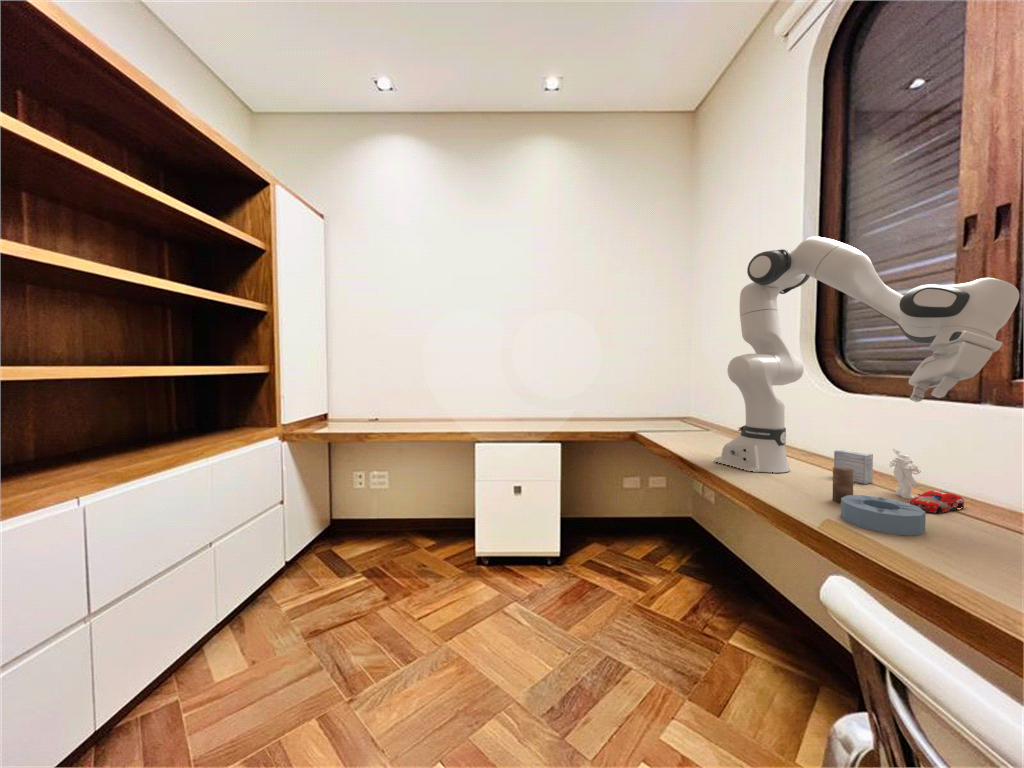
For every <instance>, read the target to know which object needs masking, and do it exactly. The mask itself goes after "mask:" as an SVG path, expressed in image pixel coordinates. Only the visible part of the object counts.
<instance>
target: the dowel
mask: <svg viewBox="0 0 1024 768" xmlns="http://www.w3.org/2000/svg"><path fill="white" fill-rule="evenodd" d="M853 472H854V470H853V469H851V468H846V467H834V466H833V467H832V498H831V500H832V502H834V503H837V504H840V505H841V498H842V497H845V496H847V495H854V482H853Z"/></svg>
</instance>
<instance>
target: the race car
mask: <svg viewBox="0 0 1024 768" xmlns="http://www.w3.org/2000/svg"><path fill="white" fill-rule="evenodd" d="M908 504H911V505H914V506H917V507H919V508H921V509H922V510H923V511H925V512H926V513H927V512H928V513H933V514H935V515H938V514H939V515H940V514H942V513H946V512H952V511H955V510H956V509H957V508H961V507H963V508H964V507H965V501H964V498H963V497H962V496H960V495H958V494H955V493H951V492H947V491H946V492H945V491H941V490H928V491H926V492H923V493H922V494H920V493H918V494H917V497H915V498H914V499H910V500H909V503H908Z"/></svg>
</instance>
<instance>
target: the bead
mask: <svg viewBox="0 0 1024 768" xmlns="http://www.w3.org/2000/svg"><path fill="white" fill-rule="evenodd" d="M926 513H927V511H923V510H922V509H921V508H919V507H917V506H914V505H911V504H909V503H908V502H905V501H902V500H897V499H891V498H887V497H881V496H875V495H863V494H853V495H847V496H845V497H842V498H841V504H840V516H841V517H842V519H843V520H844V521H845V522H848V523H850V524H853V525H854V526H856V527H859V528H862V529H866V530H869V531H874V532H878V533H883V534H884V533H885V534H890V535H896V536H897V535H899V536H920V535H922V534H923V533H925V532H926V521H927V520H926V517H927V516H926Z"/></svg>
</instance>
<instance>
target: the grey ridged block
mask: <svg viewBox="0 0 1024 768" xmlns="http://www.w3.org/2000/svg"><path fill="white" fill-rule="evenodd" d="M833 454H834V455H833V457H834V459H833V464H834V465H833V467H846V468H851V469H853V470H854V472H853V483H858V484H861V485H862V484H863V485H868V484H870V483H873V482H874V479H873V477H874V474H873V473H874V471H873V470H874V469H873V468H874V463H873V461H874V456H873V455H874V454H873V453H871V452H864V451H858V450H851V449H842V448H840V449H837V450H836V449H835V450H834V451H833Z"/></svg>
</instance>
